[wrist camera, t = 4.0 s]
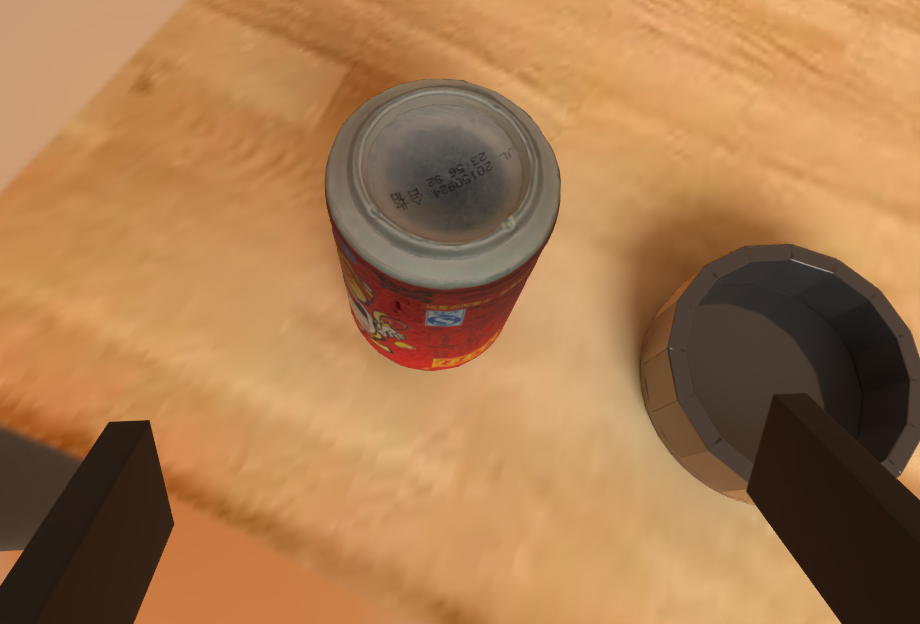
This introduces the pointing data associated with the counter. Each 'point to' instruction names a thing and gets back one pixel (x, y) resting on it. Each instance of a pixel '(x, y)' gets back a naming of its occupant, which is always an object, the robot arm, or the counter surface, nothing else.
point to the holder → (777, 361)
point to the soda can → (439, 217)
